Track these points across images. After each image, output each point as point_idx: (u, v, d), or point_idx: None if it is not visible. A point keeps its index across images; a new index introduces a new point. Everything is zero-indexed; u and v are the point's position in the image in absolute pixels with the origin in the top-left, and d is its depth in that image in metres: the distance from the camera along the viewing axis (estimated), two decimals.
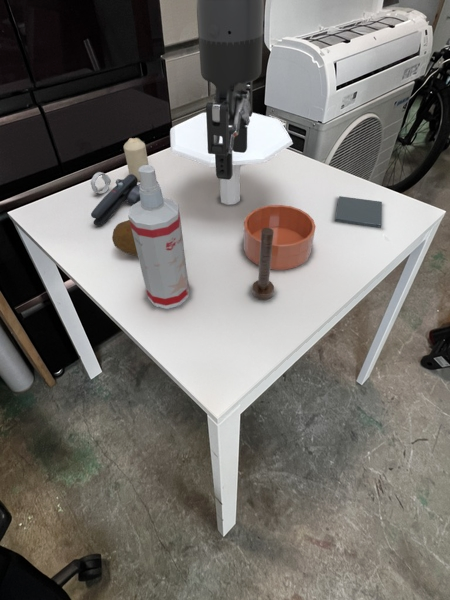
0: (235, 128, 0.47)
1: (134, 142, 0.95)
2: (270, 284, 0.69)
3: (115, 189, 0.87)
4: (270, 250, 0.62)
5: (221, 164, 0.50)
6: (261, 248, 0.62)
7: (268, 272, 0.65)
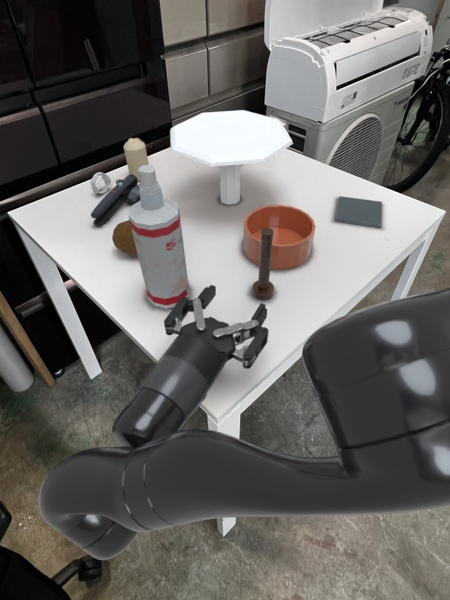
0: (241, 329, 0.51)
1: (134, 142, 0.95)
2: (270, 284, 0.69)
3: (115, 189, 0.87)
4: (270, 250, 0.62)
5: (262, 320, 0.54)
6: (261, 248, 0.62)
7: (268, 272, 0.65)
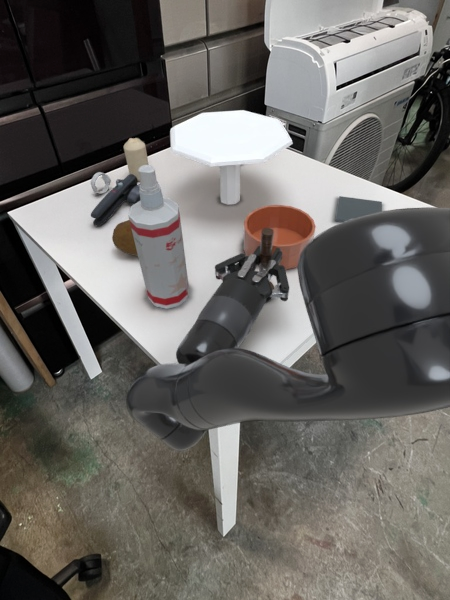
0: (269, 270, 0.60)
1: (134, 142, 0.95)
2: (270, 284, 0.69)
3: (115, 189, 0.87)
4: (270, 250, 0.62)
5: (279, 261, 0.64)
6: (261, 248, 0.62)
7: None
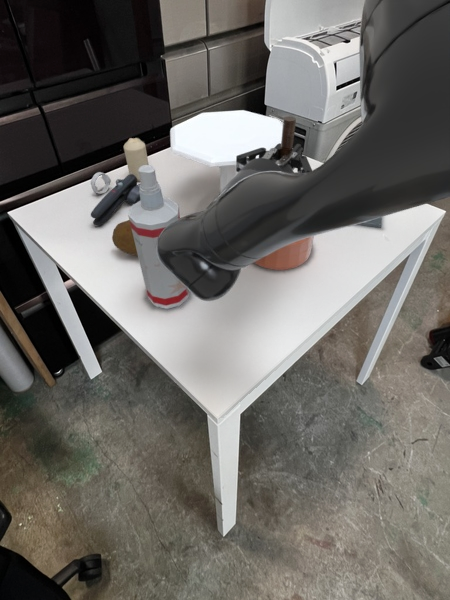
0: (291, 158, 0.60)
1: (134, 142, 0.95)
2: None
3: (115, 189, 0.87)
4: (291, 140, 0.61)
5: None
6: (282, 139, 0.61)
7: None
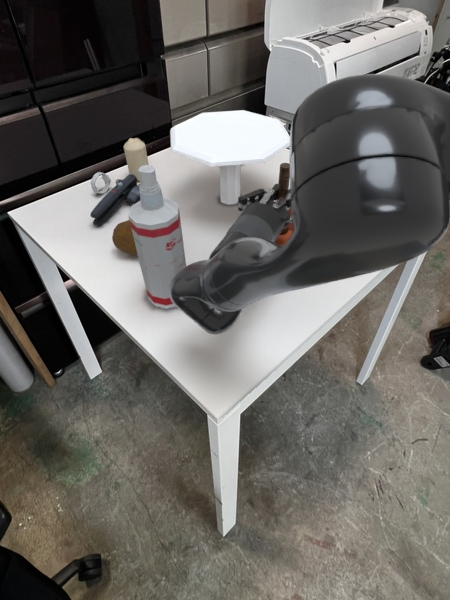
0: (286, 200, 0.67)
1: (134, 142, 0.95)
2: None
3: (115, 189, 0.87)
4: (287, 183, 0.69)
5: None
6: (279, 182, 0.69)
7: None
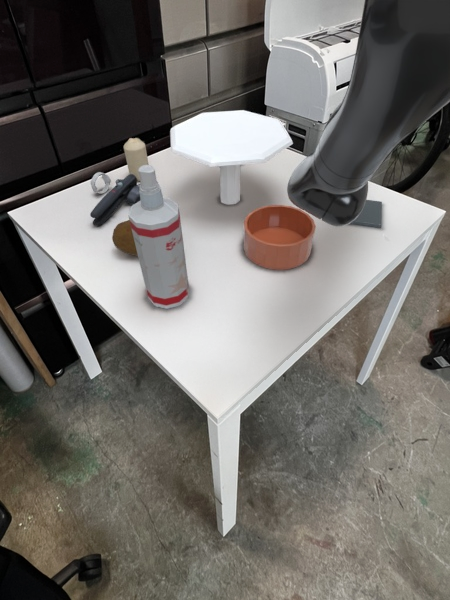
0: None
1: (134, 142, 0.95)
2: None
3: (114, 189, 0.87)
4: None
5: None
6: None
7: None
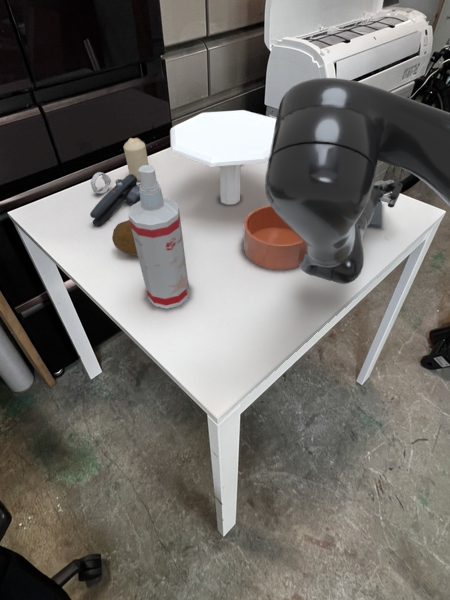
0: (384, 183, 0.76)
1: (134, 142, 0.95)
2: None
3: (114, 189, 0.87)
4: None
5: (393, 182, 0.79)
6: None
7: None
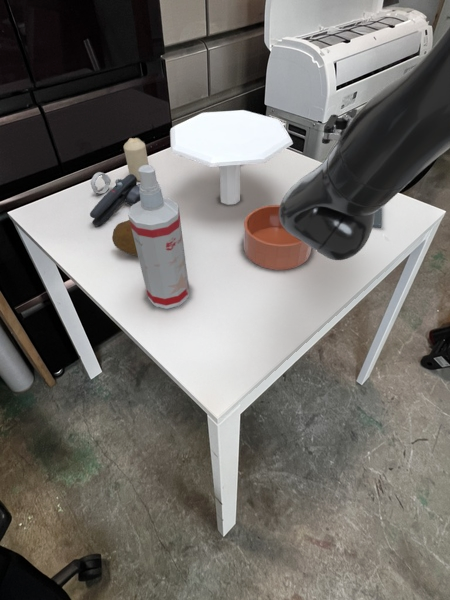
0: None
1: (134, 142, 0.95)
2: None
3: (114, 189, 0.87)
4: None
5: None
6: None
7: None
